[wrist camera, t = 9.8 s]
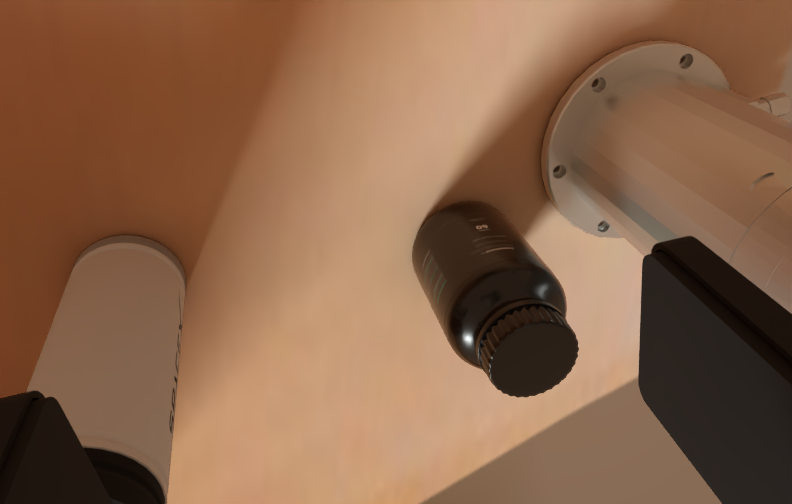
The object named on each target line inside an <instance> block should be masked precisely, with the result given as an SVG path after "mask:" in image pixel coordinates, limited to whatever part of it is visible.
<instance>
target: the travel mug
mask: <svg viewBox="0 0 792 504" xmlns="http://www.w3.org/2000/svg"><path fill="white" fill-rule="evenodd" d="M185 290H186V278H185V273H184V270H183V268H182V266H181V263H180V262H179V260H178V259H177V258H176V257H175V255H174V254H173V253H172V252H171V251H169V250H168V249H167V248H166V247H164V246H163V245H161V244H159V243H158V242H155V241H153V240H150V239H148V238H144V237H139V236H133V235H120V236H112V237H108V238H105V239H102V240H100V241H98V242H96V243H94V244H92V245H90V246H89V247H88V248H87V249H85V250H84V251H83V252H82V253H81V255H80V256H79V257H78V258H77V260H76V262H75V265H74V267H73V269H72V272H71V274H70V277H69V280H68V282H67V285H66V288H65V290H64V293H63V295H62V298H61V301H60V303H59V306H58V309H57V311H56V314H55V317H54V319H53V322H52V325H51V327H50V330H49V332H48V335H47V338H46V340H45V343H44V346H43V348H42V351H41V354H40V356H39V359H38V361H37V364H36V367H35V369H34V372H33V375H32V377H31V380H30V383H29V385H28V388H27V391H26V392H30V391H34V390H35V391H39V392H40V393H42V394H43V395H44V397H45V398H46V397H54V398H55V399H57V401H58V402H59V404H60V406H61V407H62V409H63V411H64V413H65V415H66V417H67V419H68V420H69V422H70V424H71V426H72V428H73V430H74V432H75V433H76V435H77V437H78V439H79V441H80V443H81V445H82V446H83V448H84V450H85V452H86V454H87V456H88V458H89V460H90V461H91V463H92V465H93V467H94V469H95V471H96V473H97V474H98V476H99V478H100V480H101V482H102V484H103V486H104V487H105V489H106V491H107V493H108V495H109V497H110V499H111V500H112V502H113V504H167V493H168V485H169V474H170V462H171V451H172V439H173V428H174V416H175V405H176V394H177V382H178V371H179V359H180V348H181V336H182V325H183V313H184V300H185Z"/></svg>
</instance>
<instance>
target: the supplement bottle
mask: <svg viewBox="0 0 792 504" xmlns="http://www.w3.org/2000/svg"><path fill="white" fill-rule="evenodd" d="M412 262H413V267H414V270H415V273H416V275H417V277H418V280H419V282H420V284H421V286H422V288H423V290H424V292H425V294H426V296H427V299H428V301H429V303H430V305H431V307H432V309H433V311H434V313H435V315H436V317H437V319H438V321H439V323H440V325H441V327H442V329H443V331H444V334H445V336H446V338H447V340H448V342H449V343H450V345H451V347H452V348H453V350H454V351H455V353H456V354H457V355H458V356H459V357H460V358H461V359H462V360H464V361H465V362H467V363H468V364H470V365H472V366H474V367H477V368H479V369H483V371H484V372H485V373H486V374H487V376H488V377H489V379H490V381H491V383H492V384H493V385H495V387H496V388H497V389H498V390H501V391H502V393H504V394H508V395H509V396H516V397H529V396H535V395H537V394H539V393H544V392H545V391H547V390H550V389H552V388H553V387H554V386H555V385H557V384H559V383H560V382H561V380H563V379H564V378H566V376H567V374H568V373H569V372H571V370H572V367H573V366H574V365H575V360H576V359H577V357H578V354H577V352H578V350H579V348H578V340H577V339H576V335H575V333H574V331H573V330H572V329H571V327H570V326H569V324H568V323H567V321H566V319H565V318H566V310H567V304H566V296H565V293H564V290H563V288H562V286H561V284H560V282H559V281H558V279H557V278H556V277H555V275H554V274H553V273H552V272H551V270H550V269H549V268H548V267H547V266H546V264H545V263H544V262H543V261H542V260H541V258H540V257H539V256H538V255H537V253H536V252H535V251H534V250H533V249H532V247H531V246H530V245H529V244H528V243H527V241H526V240H525V239H524V238H523V237H522V235H521V234H520V233H519V232H518V231H517V229H516V228H515V227H514V226H513V225H512V223H511V222H510V221H509V220H508V219H507V218H506V217H505V216H504V215H503V214H502V213H501V212H500V211H499V210H497V209H496V208H494V207H492V206H490V205H487V204H484V203H480V202H461V203H457V204H453V205H450V206H448V207H445V208H443V209H442V210H440V211H438V212H437V213H435V214H434V215H433V216H432V217H430V218H429V219H428V220H427V221H426V223H425V224H424V225H423V226H422V228H421V229H420V231H419V232H418V234H417V236H416V239H415V242H414V245H413V251H412Z"/></svg>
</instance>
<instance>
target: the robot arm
mask: <svg viewBox="0 0 792 504" xmlns="http://www.w3.org/2000/svg"><path fill="white" fill-rule="evenodd" d="M594 80H595V82H594V83H593V81H594ZM592 83H593V84H592ZM790 107H791V106H790V100H789V98H788V96H787V95H786V94H784V93H777V94H773V95H770V96H766V97H763V98H760V99H759V100H756V101H755V100H752V99H750V98H748V97H745V96H743V95H740V94H738V93H736V92H733V91H731V88H730V84H729V82H728V80H727V79H726V77H725V75H724V73H723V71H722V70H721V68H720V67H719V66H718V65H717V64H716V63H715V62H714V61H713V60H712V59H711V58H710V57H708V56H707V55H705V54H703V53H702V52H700V51H698V50H697V49H694V48H692V47H689V46H686V45H683V44H681V43H676V42H670V41H664V40H660V41H644V42H640V43H636V44H632V45H629V46H625V47H623V48H621V49H619V50H617V51H614V52H612V53H610V54H608V55H606V56H605V57H603V58H602V59H600V60H599V61H598V62H596V63H595V64H593V65H592V66H590V67H589V68H588V69H587V70H586V71H585V72H584V73H583V74H582V75H581V76H580V77H579V78H578V79H577V80H576V81H574V82H573V84H572V85H571V86H570V88H569V89H568V90H567V92H566V93H565V94H564V96H563V97H562V98H561V100H560V101H559V103H558V105H557V107H556V109H555V111H554V113H553V115H552V116H551V118H550V121H549V124H548V127H547V130H546V133H545V136H544V141H543V147H542V154H541V168H542V177H543V181H544V185H545V189H546V192H547V194H548V196H549V198H550V200H551V202H552V204H553V205H554V206H555V207H556V209H557V210H558V211H559V212H560V213H561V214H562V216H564V217H565V218H566V219H567V220H568V221H569V222H570V223H571V224H572V225H573V226H575V227H577V228H579V229H581V230H582V231H584V232H586V233H588V234H592V235H595V236H598V237H606V238H625V239H626V240H627V241H628V242H629V243H630V244H631V245H632V246H633V247H635V248H636V249H637V250H638V251H639V252H640V253H641V254H642V255H643V256H645V257H644V259H643V264H642V293H641V322H640V351H639V388H640V392H641V395H642V397H643V399H644V401H645V402H646V404H647V405H648V407H649V408H650V409H651V411H652V412H653V413H654V415H655V416H656V417H657V419H658V420H659V421H660V422H661V424H662V425H663V426H664V428H665V429H666V430H667V432H668V433H669V434H670V436H671V437H672V438H673V439H674V441H675V442H676V443H677V445H678V446H679V447H680V449H681V450H682V451H683V453H684V454H685V455H686V457H687V458H688V459H689V461H691V463H692V465H693V466H694V467H695V468H696V470H697V471H698V472H699V474H700V475H701V476H702V478H703V479H704V480H705V481H706V483H707V484H708V485H709V487H710V488H711V489H712V491H713V492H714V493H715V495H716V496H717V497H718V499H719V500H720V501H721V502H722V504H792V122H789V121H787V120H785V119H783V118H780V116H784V115H786V114H787V113H788V112H789V110H790ZM555 167H556V168H555ZM554 168H555V169H554ZM0 504H113V502H112V500H111V499H110V497H109V495H108V493H107V491H106V489H105V487H104V486H103V484H102V482H101V480H100V478H99V476H98V474H97V473H96V471H95V469H94V467H93V465H92V463H91V461H90V460H89V458H88V456H87V454H86V452H85V450H84V448H83V446H82V445H81V443H80V441H79V439H78V437H77V435H76V433H75V432H74V430H73V428H72V426H71V424H70V422H69V420H68V419H67V417H66V415H65V413H64V411H63V409H62V407H61V406H60V404H59V402H58V401H57V399H55V398H54V397H46V398H45V397H44V395H43V394H42V393H40V392H39V391H35V390H34V391H30V392H25V393H21V394H17V395H13V396H8V397H4V398H0Z"/></svg>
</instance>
